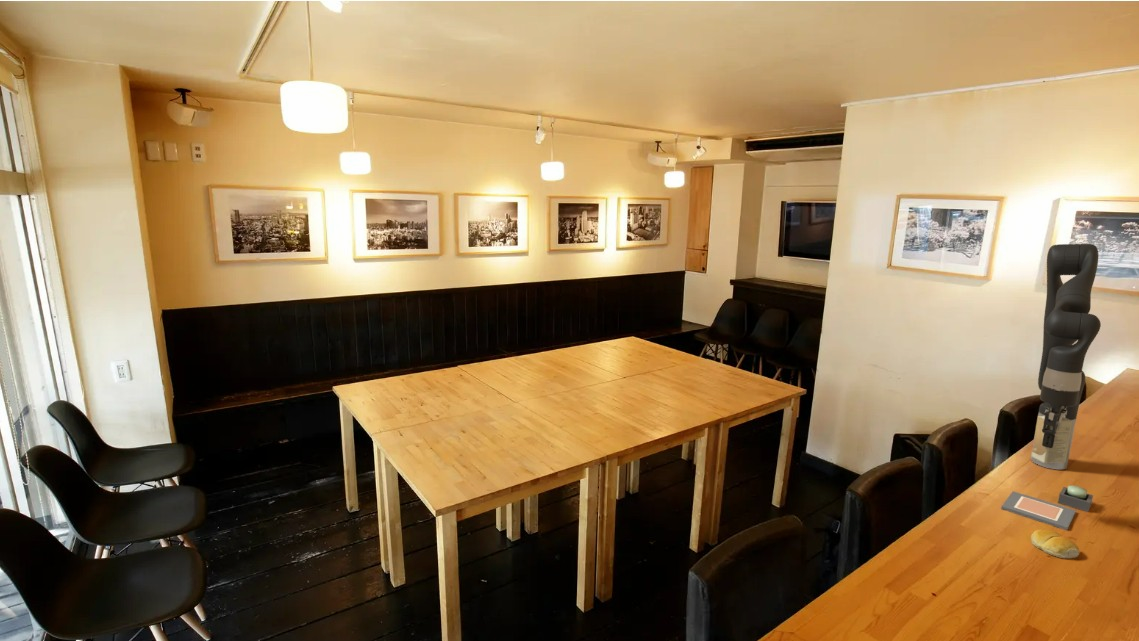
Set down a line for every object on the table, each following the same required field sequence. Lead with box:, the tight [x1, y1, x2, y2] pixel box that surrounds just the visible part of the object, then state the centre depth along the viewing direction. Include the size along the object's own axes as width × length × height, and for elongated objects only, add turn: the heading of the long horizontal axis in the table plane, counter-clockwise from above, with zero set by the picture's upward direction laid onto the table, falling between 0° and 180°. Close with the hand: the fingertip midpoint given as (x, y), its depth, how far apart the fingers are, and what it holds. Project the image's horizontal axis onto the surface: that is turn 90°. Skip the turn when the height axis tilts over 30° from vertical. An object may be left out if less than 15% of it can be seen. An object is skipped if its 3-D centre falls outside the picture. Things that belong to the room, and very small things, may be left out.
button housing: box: [1057, 486, 1094, 513], centre depth 156 cm, size 6×6×3 cm
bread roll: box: [1030, 528, 1080, 559], centre depth 135 cm, size 8×9×4 cm
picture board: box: [1000, 490, 1077, 531], centre depth 152 cm, size 13×14×1 cm
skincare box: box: [1030, 415, 1073, 463], centre depth 148 cm, size 6×4×12 cm
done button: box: [1067, 484, 1088, 498], centre depth 155 cm, size 4×4×2 cm
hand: (1050, 442), depth 148 cm, fingers closed on skincare box, 7 cm apart
